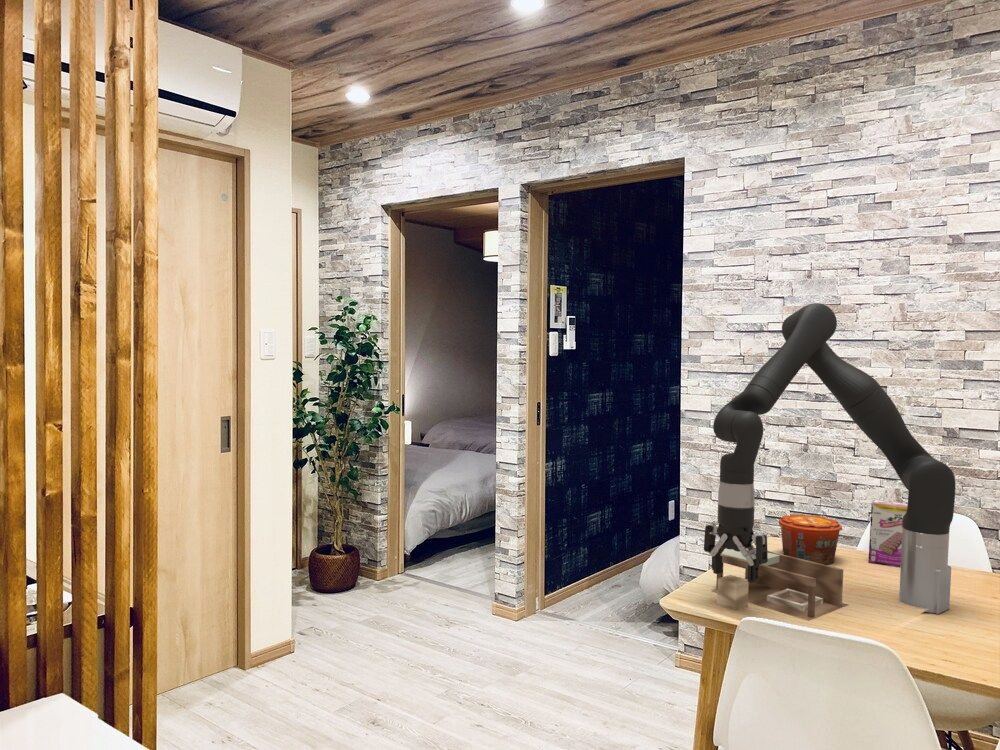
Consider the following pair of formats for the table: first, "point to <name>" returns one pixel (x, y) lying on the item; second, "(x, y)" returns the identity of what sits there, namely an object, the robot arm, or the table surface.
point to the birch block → (732, 592)
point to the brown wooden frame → (793, 586)
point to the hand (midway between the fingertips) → (734, 577)
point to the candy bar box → (886, 532)
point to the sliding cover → (771, 558)
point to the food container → (810, 537)
